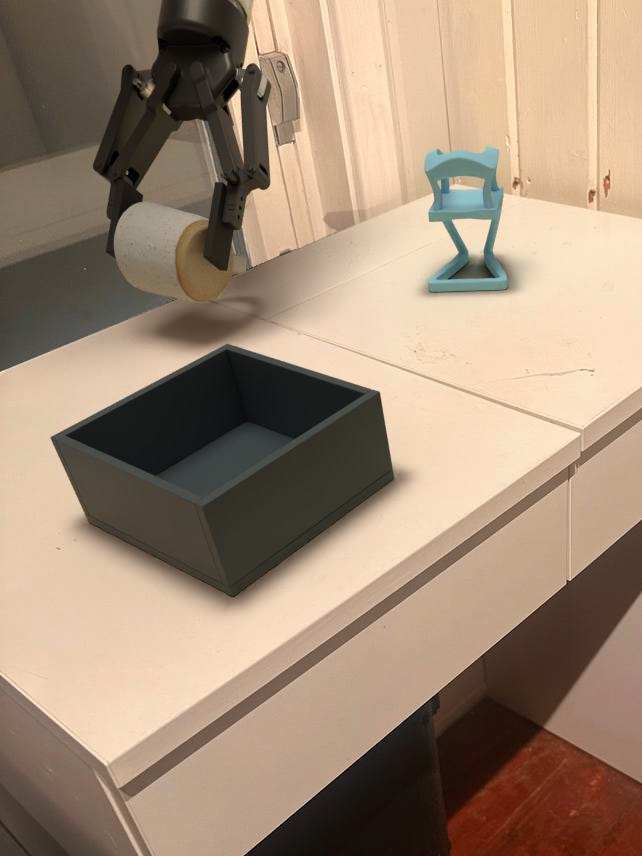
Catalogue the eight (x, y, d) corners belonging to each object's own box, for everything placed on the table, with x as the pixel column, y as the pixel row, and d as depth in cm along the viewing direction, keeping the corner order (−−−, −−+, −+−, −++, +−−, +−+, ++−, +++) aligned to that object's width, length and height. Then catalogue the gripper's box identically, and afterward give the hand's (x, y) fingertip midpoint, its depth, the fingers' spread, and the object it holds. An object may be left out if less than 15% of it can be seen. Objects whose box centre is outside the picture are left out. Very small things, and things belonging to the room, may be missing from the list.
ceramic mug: (193, 318, 80) (167, 227, 75) (128, 303, 84) (99, 216, 79) (271, 275, 87) (252, 189, 82) (207, 263, 90) (186, 180, 85)
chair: (514, 257, 94) (508, 127, 86) (507, 289, 88) (499, 154, 80) (440, 259, 95) (427, 132, 87) (428, 292, 89) (412, 158, 81)
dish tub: (87, 522, 64) (49, 436, 60) (249, 424, 73) (227, 343, 68) (233, 597, 57) (201, 506, 52) (394, 478, 65) (380, 391, 61)
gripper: (336, 37, 82) (296, 285, 81) (128, 41, 87) (90, 273, 87) (299, -26, 74) (255, 247, 74) (74, -17, 80) (33, 236, 80)
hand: (166, 261), depth 81 cm, fingers closed on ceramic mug, 9 cm apart
